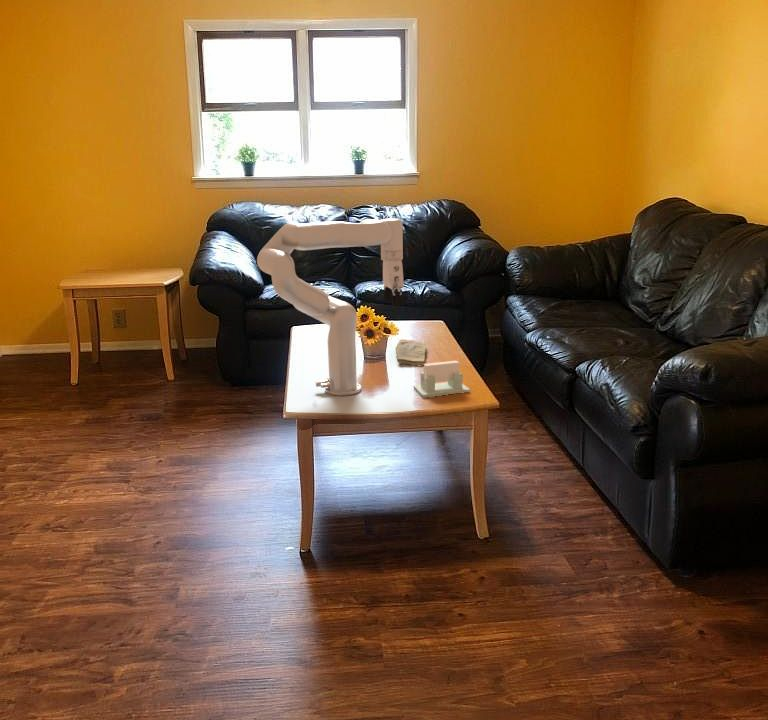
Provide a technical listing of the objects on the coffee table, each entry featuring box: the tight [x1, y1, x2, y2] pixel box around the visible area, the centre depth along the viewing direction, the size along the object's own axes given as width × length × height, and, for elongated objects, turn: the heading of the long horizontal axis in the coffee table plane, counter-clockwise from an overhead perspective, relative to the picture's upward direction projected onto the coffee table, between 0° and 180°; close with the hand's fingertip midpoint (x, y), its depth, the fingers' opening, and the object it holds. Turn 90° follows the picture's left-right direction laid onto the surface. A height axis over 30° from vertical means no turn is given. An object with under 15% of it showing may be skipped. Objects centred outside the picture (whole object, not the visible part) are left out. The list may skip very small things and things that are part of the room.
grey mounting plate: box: [412, 371, 471, 399], centre depth 261 cm, size 17×10×6 cm, turn 106°
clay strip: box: [423, 360, 460, 383], centre depth 260 cm, size 12×2×6 cm, turn 107°
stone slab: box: [395, 338, 427, 366], centre depth 305 cm, size 12×4×30 cm
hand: (392, 303), depth 267 cm, fingers open, 9 cm apart
